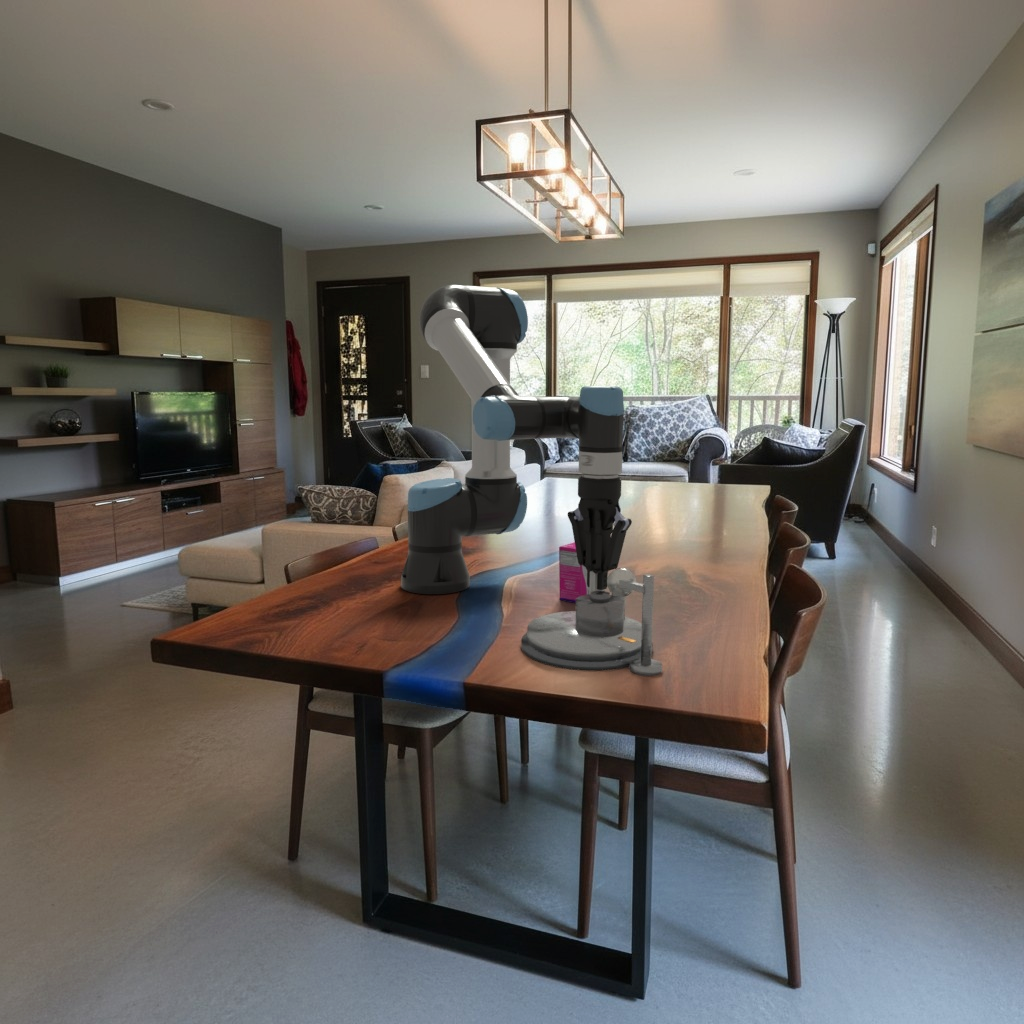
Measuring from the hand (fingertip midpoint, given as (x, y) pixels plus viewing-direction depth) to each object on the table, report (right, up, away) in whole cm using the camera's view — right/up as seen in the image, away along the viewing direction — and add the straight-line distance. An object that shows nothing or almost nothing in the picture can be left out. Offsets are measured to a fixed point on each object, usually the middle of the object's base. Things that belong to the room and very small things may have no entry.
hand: (596, 606), depth 135 cm
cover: (-1, -3, -9) cm, 10 cm away
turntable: (-3, -5, -8) cm, 10 cm away
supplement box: (-2, -1, +21) cm, 21 cm away
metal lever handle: (+4, -7, -18) cm, 19 cm away
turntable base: (-3, -6, -8) cm, 10 cm away
